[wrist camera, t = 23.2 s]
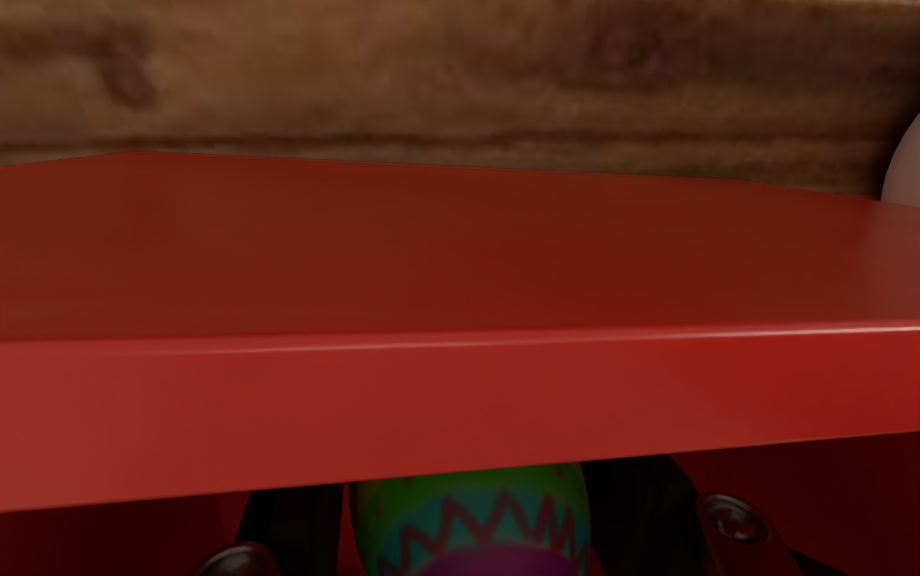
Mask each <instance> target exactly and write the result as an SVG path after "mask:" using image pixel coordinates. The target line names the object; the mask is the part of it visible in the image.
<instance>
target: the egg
mask: <svg viewBox="0 0 920 576" xmlns="http://www.w3.org/2000/svg"><path fill="white" fill-rule="evenodd" d="M349 508H350V517H351V524H352V529H353V534H354V539H355V543H356V547H357V551H358V554H359V557H360V560H361V563H362V566H363V568H364V571H365V574H366V576H587V571H588V565H589V556H590V541H591V525H590V509H589V500H588V494H587V489H586V484H585V479H584V475H583V471H582V467H581V464H580V462H569V463H558V464H547V465H536V466H524V467H513V468H502V469H490V470H479V471H468V472H457V473H445V474H434V475H423V476H412V477H400V478H389V479H378V480H366V481H355V482H349Z"/></svg>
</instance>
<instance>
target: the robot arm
mask: <svg viewBox="0 0 920 576" xmlns="http://www.w3.org/2000/svg"><path fill="white" fill-rule="evenodd" d="M580 464H581V467H582V471H583V475H584V479H585V484H586V489H587V494H588V500H589V509H590V525H591V541H590V545H591V547H592V549H593V551H594V553H595V554H596V556H597V558H598V560H599V562H600V564H601V566H602V568H603V570H604V572H605V574H606V576H851V575H849V574H847V573H845V572H843V571H840V570H838V569H836V568H834V567H832V566H829V565H827V564H825V563H823V562H821V561H818V560H816V559H814V558H812V557H810V556H807V555H805V554H803V553H801V552H799V551H796V550H794V549H792V548H790V547H788V546H786V545H785V543H784V541H783V540H782V538H781V536H780V535H779V533H778V531H777V530H776V528H775V526H774V525H773V524H772V522H771V521H770V520H769V519H768V517H767V516H766V515H765V514H764V513H762V512H761V511H760V510H759V509H758V508H757V507H755V506H754V505H752V504H751V503H749V502H747V501H746V500H744V499H742V498H739V497H737V496H735V495H733V494H729V493H725V492H721V491H707V492H703V493H701V494H699V493H698V492H697V490H696V489H695V488H694V487H693V486H692V483H693V481H692V480H691V479H690V478H689V477H688V476H687V475H686V473H685V472H684V471H683V470H682V469H681V468H680V467H679V466H678V464H677V463H676V462H675V461H674V460H673V459H672V458H671V456H670V455H669V454H659V455H648V456H637V457H626V458H614V459H603V460H592V461H581V462H580ZM343 491H344V483H333V484H321V485H310V486H299V487H288V488H276V489H265V490H254V491H251V493H250V496H249V499H248V502H247V505H246V508H245V511H244V514H243V517H242V520H241V523H240V526H239V529H238V532H237V535H236V538H235V541H234V543H232V544H228V545H225V546H223V547H221V548H219V549H217V550H215V551H213V552H211V553H209V554H208V555H207V556H205V557H204V558H203V559H201V560H200V561H199V562H197V564H196V565H195V566H194V567H193V568H192V569H191V570H190V571H189V572H188V574H187V575H186V576H336V573H337V561H338V550H339V538H340V526H341V515H342V503H343Z"/></svg>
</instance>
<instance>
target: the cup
mask: <svg viewBox="0 0 920 576" xmlns="http://www.w3.org/2000/svg"><path fill="white" fill-rule="evenodd" d="M881 201H882V202H889V203H895V204H902V205H908V206H915V207H920V113H919V114H918V115H917V117H916V118H915V119H914V121H913V122H912V124H911V125H910V126H909V128H908V129H907V131H906V132H905V134H904V136H903V138H902V139H901V141H900V143H899V145H898V147H897V149H896V151H895V152H894V155H893V157H892V160H891V162H890V165H889V168H888V170H887V173H886V177H885V181H884V185H883V190H882V194H881Z"/></svg>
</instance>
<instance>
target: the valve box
mask: <svg viewBox="0 0 920 576" xmlns="http://www.w3.org/2000/svg"><path fill="white" fill-rule="evenodd" d="M659 454H669V455H670V456H671V458H672V459H673V460H674V461H675V462H676V463H677V464H678V466H679V467H680V468H681V469H682V470H683V471H684V472H685V473H686V475H687V476H688V477H689V478H690V479H691V480H692V481H693V483H692V486H693V487H694V488H695V489H696V490H697V492H698V493H699V494H701V493H703V492H707V491H721V492H725V493H729V494H733V495H735V496H737V497H739V498H742V499H744V500H746V501H747V502H749V503H751V504H752V505H754V506H755V507H757V508H758V509H759V510H760V511H761V512H762V513H764V514H765V515H766V516H767V517H768V519H769V520H770V521H771V522H772V524H773V525H774V526H775V528H776V530H777V531H778V533H779V535H780V536H781V538H782V540H783V541H784V543H785V545H786V546H788V547H790V548H792V549H794V550H796V551H799V552H801V553H803V554H805V555H807V556H810V557H812V558H814V559H816V560H818V561H821V562H823V563H825V564H827V565H829V566H832V567H834V568H836V569H838V570H840V571H843V572H845V573H847V574H849V575H851V576H920V207H915V206H908V205H902V204H895V203H889V202H882V201H876V200H869V199H863V198H857V197H850V196H844V195H837V194H831V193H824V192H818V191H811V190H805V189H799V188H792V187H786V186H779V185H773V184H766V183H760V182H753V181H747V180H738V179H717V178H696V177H675V176H655V175H634V174H613V173H592V172H571V171H550V170H529V169H509V168H488V167H467V166H446V165H425V164H404V163H383V162H363V161H342V160H321V159H300V158H279V157H258V156H237V155H216V154H196V153H175V152H154V151H129V152H121V153H112V154H103V155H95V156H86V157H78V158H69V159H60V160H52V161H43V162H35V163H26V164H18V165H9V166H1V167H0V576H186V575H187V574H188V572H189V571H190V570H191V569H192V568H193V567H194V566H195V565H196V564H197V562H199V561H200V560H201V559H203V558H204V557H205V556H207V555H208V554H209V553H211V552H213V551H215V550H217V549H219V548H221V547H223V546H225V545H228V544H232V543H234V541H235V538H236V535H237V532H238V529H239V526H240V523H241V520H242V517H243V514H244V511H245V508H246V505H247V502H248V499H249V496H250V493H251V491H254V490H265V489H276V488H288V487H299V486H310V485H321V484H333V483H344V491H343V503H342V515H341V526H340V538H339V550H338V561H337V573H336V576H366V574H365V571H364V568H363V566H362V563H361V560H360V557H359V554H358V551H357V547H356V543H355V539H354V534H353V529H352V524H351V517H350V508H349V482H355V481H366V480H378V479H389V478H400V477H412V476H423V475H434V474H445V473H457V472H468V471H479V470H490V469H502V468H513V467H524V466H536V465H547V464H558V463H569V462H581V461H592V460H603V459H614V458H626V457H637V456H648V455H659ZM587 576H606V574H605V572H604V570H603V568H602V566H601V564H600V562H599V560H598V558H597V556H596V554H595V553H594V551H593V549H592V547H591V545H590V556H589V565H588V571H587Z"/></svg>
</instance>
